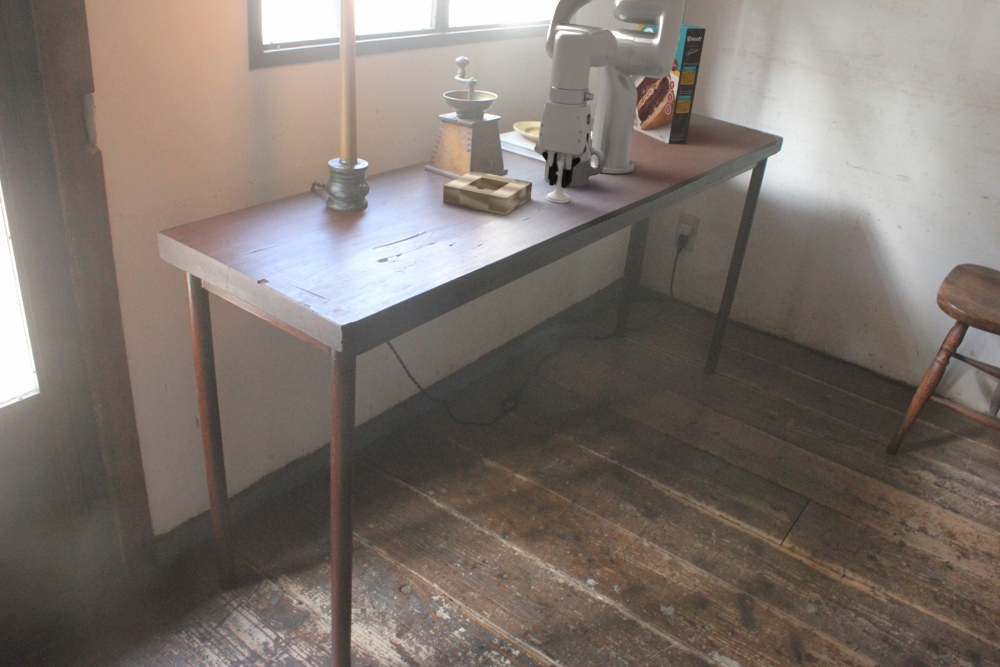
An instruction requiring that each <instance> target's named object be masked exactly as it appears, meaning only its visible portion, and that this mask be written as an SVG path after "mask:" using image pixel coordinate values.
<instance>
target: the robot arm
mask: <svg viewBox="0 0 1000 667" xmlns="http://www.w3.org/2000/svg"><path fill="white" fill-rule="evenodd" d="M594 1H596V0H557V2H556V4H555V5H554V7H553V8H554V9H553V10H552V11H553V12H552V15H551V18H550V22H549V26H548V30H547V33H546V37H545V38H546V39H545V52H546V54H547V55H548V57H549V58H550V59H551V60H552V62H551V71H550V72H551V73H550V74H551V75H550V86H549V96H548V98H549V99H546V101H545V103H544V107H543V110H542V115H541V120H540V124H539V129H538V130H539V131H538V138H537V139H538V141H536V144H535V146H534V148H533V149H534V152H536V153H537V154H539V155H540V156H541V157H542V158H543V160H545V163H546V162H547V165H548V166H549V173H548V180H550V182H548V185H549V186H551V187H552V186H555V185H554V184H556V183H557V179H558V175H557V174H556V172H557V171H559V170H558V165H557V159H558V153H562V154H567V157H566V166H565V169H563V173H562V183H561V187H562V188H563V189H566V188H567V187H568V186H569V184H571V182H572V174H573V167H575V166H576V165H577V164H578V163H581V162H585V161H588V160H590V159H591V166H592V168H594V169H596V168H597V166H598V157H597V156H596V155H592V157H591V153H590V150H589V148H590V140H591V137H592V147H593V148H597V149H599V150H601V151H602V152H603V154H604V158H605V162H604V167H603V169H602V171H601V172H600V173H603V174H611V175H612V174H614V175H615V174H616V175H617V174H619V175H620V174H627V173H628V174H629V173H631V172H633V171H634V170H635V166H636V165H635V163H634V162H632V161H631V160H630V155H631V148H632V147H631V146H632V140H633V134H634V133H633V132H634V129H633V127H634V119H635V112H636V105H637V97H638V96H637V89H636V86H635V84H634V82H633V80H632V75H636V76H643V77H650V78H664V77H666V76H667V75H668V74H669V73H670V71H671V69H672V67H673V63H674V59H675V55H676V50H677V45H678V40H679V35H680V30H681V25H682V23H683V20H684V14H685V9H686V0H613V4H612V14H613V16H614V18H615V19H616V20H618V21H620V22H623V23H628V24H634V25H639V24H641V25H649V26H656V27H657V29H658V32H657V33H652V32H644V31H639V30H638V29H629V28H612V29H608V28H604V27H598V26H591V25H583V24H576V23H575V24H574V23H571V21H572V19H573V17H574V16H575V15H576V13H578V11H579V10H580V9H582V8H583V7H584V6H586V5H588V4H589V3H592V2H594ZM591 68H597V69H598V72H597V73H598V75H597V76H598V77H597V78H598V79H597V88H596V89H597V90H596V98H595V93H592V92H590V88H589V80H590V72H591ZM594 98H595V105H594V106H595V107H594V114H593V116H594V118H593V123H592V108H591V104H589V103H588V101H593V100H594ZM592 124H593V125H592ZM582 154H583V155H582ZM579 155H582V156H579ZM576 156H578V157H576Z"/></svg>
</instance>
